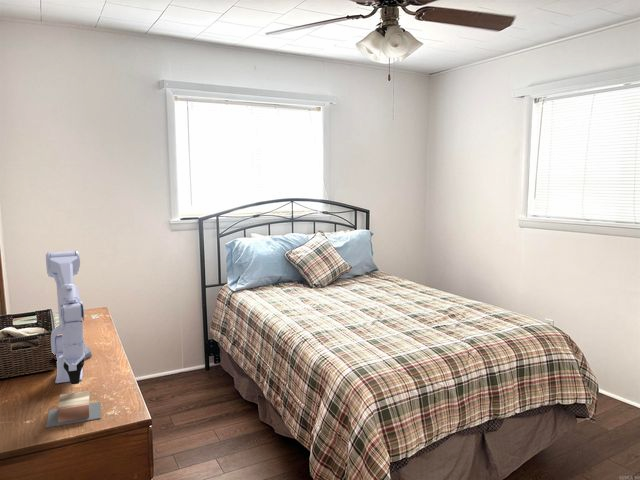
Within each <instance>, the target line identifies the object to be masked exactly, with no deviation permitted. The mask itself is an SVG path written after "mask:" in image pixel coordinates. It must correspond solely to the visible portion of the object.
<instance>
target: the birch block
mask: <svg viewBox="0 0 640 480" xmlns="http://www.w3.org/2000/svg"><path fill="white" fill-rule="evenodd" d="M90 393H91V391H90V390H85V391H79V392H70V393H64V394H60V395H59V401H58V406H57V409H58V422H64V421H70V420H76V419H82V418H88V417H89V414H90V403H91V394H90Z"/></svg>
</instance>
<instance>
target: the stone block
mask: <svg viewBox="0 0 640 480" xmlns="http://www.w3.org/2000/svg"><path fill="white" fill-rule="evenodd" d="M84 353H85V357H84V359H85V360H86V359H89V358H91V357H92V355H93V353H92V350H91V348H90V347H89V346H88V345H87V344H86V343H84Z"/></svg>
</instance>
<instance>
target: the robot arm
mask: <svg viewBox="0 0 640 480" xmlns="http://www.w3.org/2000/svg"><path fill="white" fill-rule="evenodd" d="M45 263H46V264H45V266H46V274H47V276H48V277H49V278H53V279H54V281H55V283H56V296H57V298H56V299H57V310H58V323H59V324H58V326H57V327H55V328H54V329H53V330H52V331H51V334H50V347H51V353H53V354H54V355H55V354H56V358H57V361H56V370H57V372H56V377H55V382H54V383H55V384H60V383H69V382H70V384H71V386H72V385H78V384H80V381H82V379H83V373H84V372H83V371H84V368H83V367H84V366H85V360H86V359H84V357H85V353H84V344H85V337H84V321H85V316H86V315H85V307H84V304H83V300H82V299H81V297H80V296H81V295H80V291H79V287H78V286H77V285H75V284H74V277H75V276H76V275H78V274H79V273H78V272H79V270H80V267H81V257H80V252H79V251H78V250H73V251H59V252H58V251H55V252H50V251H49V252H47V253H45Z"/></svg>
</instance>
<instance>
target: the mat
mask: <svg viewBox="0 0 640 480" xmlns="http://www.w3.org/2000/svg"><path fill="white" fill-rule="evenodd" d="M101 405H102V402H101V401H98V402H92V403H91V402H90V414H89V417H88V418H82V419H76V420H70V421H64V422H58V408H54V409H49V411H48V415H47V420H46V424H45V428H46V429H48V428H55V427H60V426H67V425H71V424H72V425H73V424H78V423H83V422H90V421H94V420H101V416H102V415H101V413H102V412H101V411H102V410H101V408H102V406H101Z"/></svg>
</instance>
